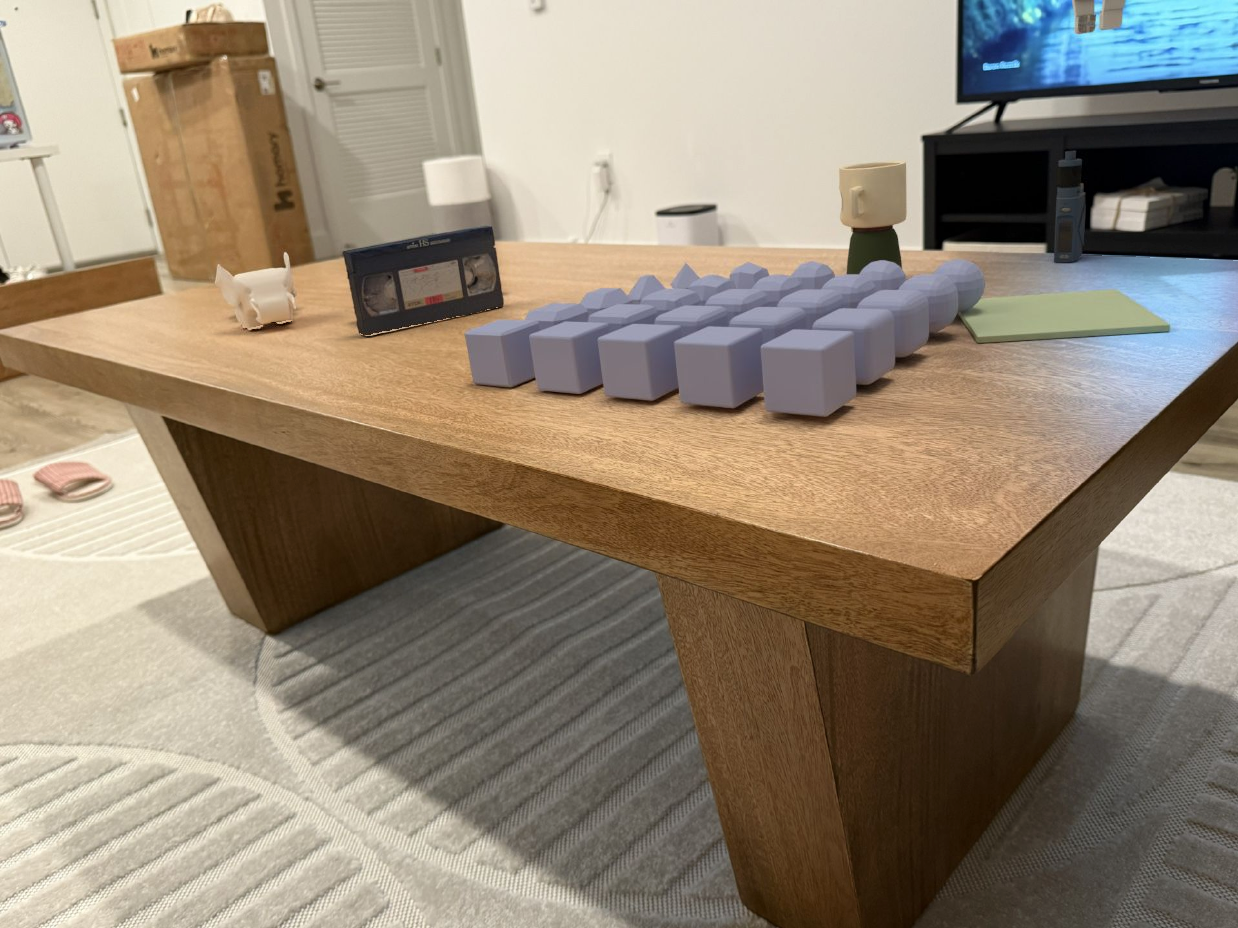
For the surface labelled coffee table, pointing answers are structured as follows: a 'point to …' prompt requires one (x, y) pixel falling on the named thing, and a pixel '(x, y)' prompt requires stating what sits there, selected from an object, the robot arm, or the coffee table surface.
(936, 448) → the coffee table surface
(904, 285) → the blocks
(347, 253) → the vhs cassette tape
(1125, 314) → the mat
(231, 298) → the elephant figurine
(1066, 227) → the vaping device
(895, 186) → the character mug
